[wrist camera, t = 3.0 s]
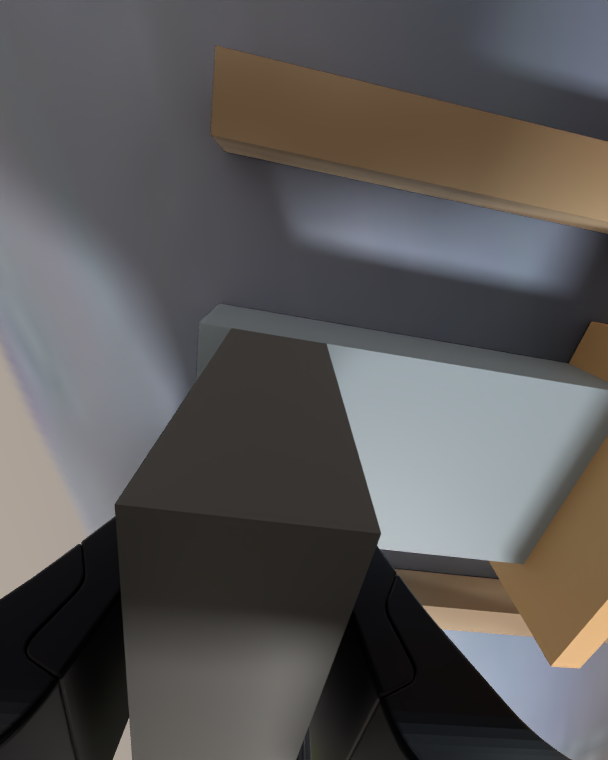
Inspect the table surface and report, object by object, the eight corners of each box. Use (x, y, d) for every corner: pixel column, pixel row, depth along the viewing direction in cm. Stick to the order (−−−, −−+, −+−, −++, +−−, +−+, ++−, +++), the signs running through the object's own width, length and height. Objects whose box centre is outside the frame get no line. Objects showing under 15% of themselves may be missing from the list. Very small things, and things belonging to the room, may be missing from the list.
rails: (637, 613, 17) (669, 648, 16) (195, 571, 15) (185, 607, 14) (971, 254, 10) (1084, 258, 9) (229, 79, 8) (215, 45, 7)
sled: (495, 540, 15) (699, 851, 7) (204, 507, 14) (94, 841, 6) (618, 326, 11) (1327, 531, 3) (222, 252, 10) (-24, 319, 2)
